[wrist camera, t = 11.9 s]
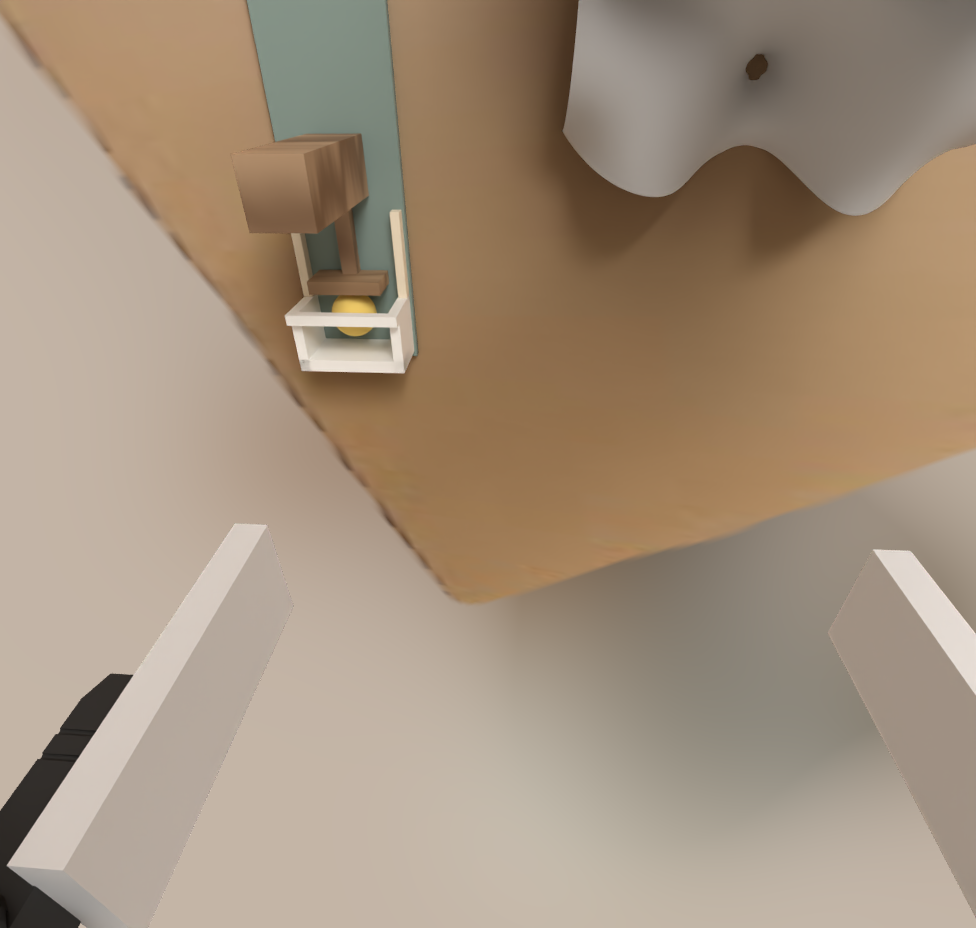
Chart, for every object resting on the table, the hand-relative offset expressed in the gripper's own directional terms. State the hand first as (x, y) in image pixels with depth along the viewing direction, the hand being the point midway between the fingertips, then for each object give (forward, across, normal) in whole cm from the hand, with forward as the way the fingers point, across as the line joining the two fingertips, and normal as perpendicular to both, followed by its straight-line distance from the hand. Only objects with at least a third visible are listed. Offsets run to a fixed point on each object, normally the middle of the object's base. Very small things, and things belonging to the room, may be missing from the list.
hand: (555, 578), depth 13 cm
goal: (+36, -15, -8) cm, 40 cm away
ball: (+34, -15, -7) cm, 38 cm away
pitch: (+37, -15, +2) cm, 40 cm away
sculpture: (+37, +14, +12) cm, 41 cm away
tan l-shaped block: (+37, -15, +4) cm, 40 cm away
